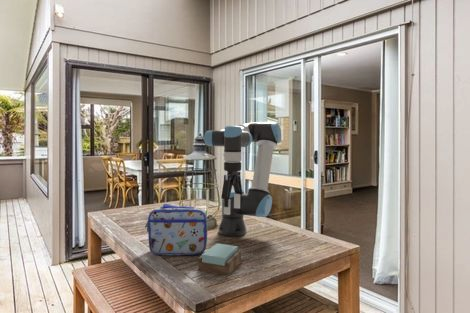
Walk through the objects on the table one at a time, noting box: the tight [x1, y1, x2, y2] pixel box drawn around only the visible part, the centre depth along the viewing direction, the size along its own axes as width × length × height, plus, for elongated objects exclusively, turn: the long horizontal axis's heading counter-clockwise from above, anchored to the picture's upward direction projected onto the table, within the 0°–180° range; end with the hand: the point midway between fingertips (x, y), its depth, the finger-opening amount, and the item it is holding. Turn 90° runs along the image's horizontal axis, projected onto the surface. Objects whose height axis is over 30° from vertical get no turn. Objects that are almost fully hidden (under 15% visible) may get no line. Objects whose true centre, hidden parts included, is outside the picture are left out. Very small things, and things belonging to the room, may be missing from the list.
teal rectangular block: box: [201, 242, 239, 266], centre depth 131 cm, size 14×10×3 cm
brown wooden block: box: [197, 249, 242, 277], centre depth 132 cm, size 14×13×5 cm
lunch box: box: [144, 203, 208, 256], centre depth 145 cm, size 28×10×22 cm, turn 92°
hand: (232, 211), depth 142 cm, fingers open, 11 cm apart
